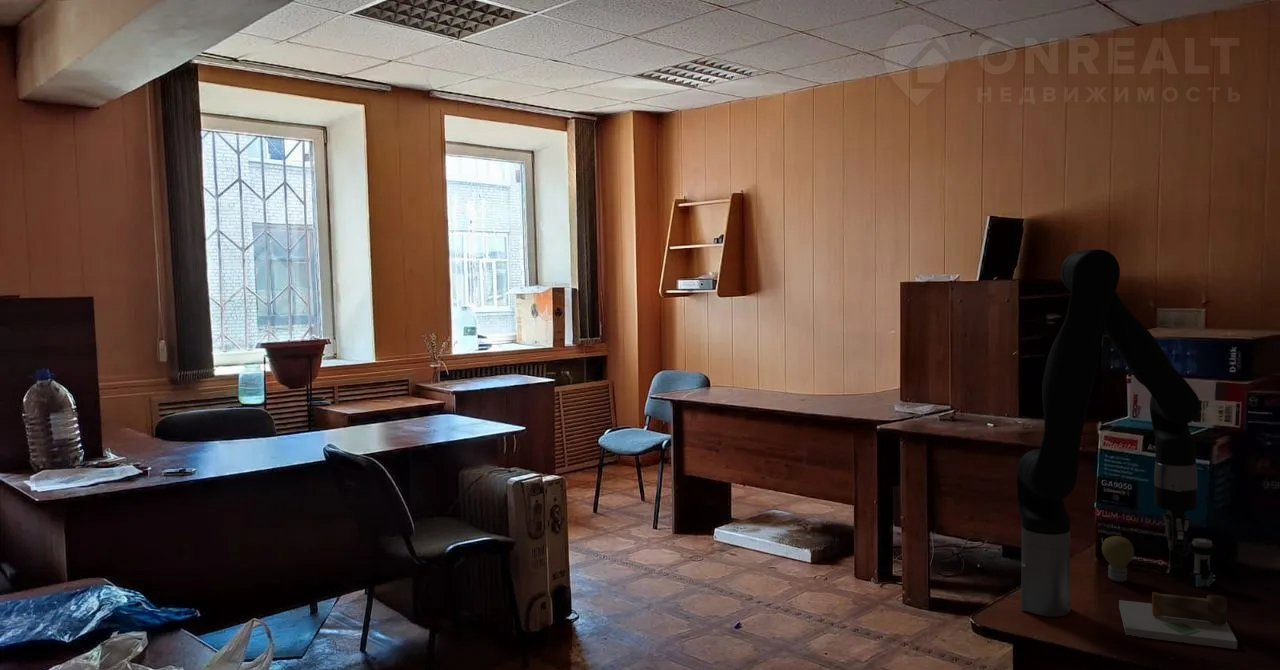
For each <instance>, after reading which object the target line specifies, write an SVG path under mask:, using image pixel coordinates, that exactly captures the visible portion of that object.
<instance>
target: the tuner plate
mask: <svg viewBox="0 0 1280 670" xmlns="http://www.w3.org/2000/svg"><path fill="white" fill-rule="evenodd" d="M1118 603H1119V604H1118V608H1119V612H1120V616H1121V620H1122V621H1121V622H1122V624H1123V628H1124V629H1125V630H1124V633H1126V634H1125V636H1126V635H1132V636H1131V637H1134V636H1137V638H1142V637H1144V638H1143V639H1150V638H1151V639H1152V640H1159V641H1166V640H1167V642H1168V641H1169V642H1174V641H1175V643H1182V642H1184V644H1191V645H1198V646H1208V647H1214V646H1215V648H1224V649H1230V650H1231V649H1232V650H1237V649H1238V640H1237V638H1236V636H1235V634H1234V633H1233V630H1232V629H1231V627H1230V624H1229V623H1228V621H1227V620H1226V623H1225V624H1215V623H1211V622H1209V621H1202V620H1193V619H1184V618H1176V617H1167V616H1153V614H1152V602H1151V603H1149V602H1142V601H1131V600H1123V599H1119V600H1118Z"/></svg>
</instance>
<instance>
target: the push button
mask: <svg viewBox="0 0 1280 670" xmlns="http://www.w3.org/2000/svg"><path fill="white" fill-rule="evenodd" d="M1187 546H1188V550H1189V552H1191V553H1192V554H1194V555H1193V556H1194V560H1193V561H1194V567H1193V571H1192V572H1189V573H1188V584H1189V585H1191V586H1192V585H1193V587H1195V586H1196V588H1198V586H1199V587H1200V588H1202V587H1201V586H1204V587H1207V586H1208V587H1211V585H1210V584H1212V583H1213V584H1214V582H1215V581H1216V579H1214V578H1215V577H1216V575H1215V574H1214V573H1213V572H1211V569H1210V566H1211V565H1210V564H1211V563H1210V562H1211V560H1210V559H1211V556H1213V555H1215V554H1216V551H1217V548H1218V546H1217V545H1215V544H1214V543H1213V541H1212V540H1210V539H1207V538H1201V537H1197V538H1192V541H1189V542H1187ZM1213 584H1212V585H1213ZM1205 585H1206V586H1205Z"/></svg>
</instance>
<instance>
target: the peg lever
mask: <svg viewBox="0 0 1280 670" xmlns="http://www.w3.org/2000/svg"><path fill="white" fill-rule="evenodd" d="M1227 601H1228V600H1227V598H1226V597H1225V596H1223V595H1219V594H1207V595H1206V598H1205V597H1195V596H1186V595H1177V594H1167V593H1160V592H1157V591H1152V593H1151V604H1152V614H1153V616H1167V617H1176V618H1184V619H1193V620H1202V621H1209V622H1211V623H1215V624H1225V623H1226V621H1227V609H1228V608H1227V607H1228V604H1227V603H1228V602H1227Z"/></svg>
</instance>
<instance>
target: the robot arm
mask: <svg viewBox="0 0 1280 670" xmlns="http://www.w3.org/2000/svg"><path fill="white" fill-rule="evenodd" d="M1120 275H1121V268H1120V264H1119V261H1118V260H1117V258H1116V257H1115V255H1113V254H1112V253H1111V252H1109V251H1107V250H1105V249H1100V248H1098V249H1096V248H1095V249H1093V248H1092V249H1084V250H1078V251H1076V252H1073V253H1070V254H1069V255H1068V256H1066V258H1065V259H1064V260H1063V262H1062V264H1061V266H1060V279H1061V281H1062V283H1063V285H1064V286H1065V287H1066V288H1067V289H1068V291H1070V294H1069V300H1068V301H1069V302H1068V308H1067V311H1066V316H1065V319H1064V321H1063V324H1062V326H1061V328H1060V330H1059V332H1058V334H1057V335H1056V337H1055V339H1054V341H1053V343H1052V346H1051V348H1050V351H1049V353H1048V356H1047V359H1046V363H1045V368H1044V374H1043V377H1042V382H1041V383H1042V384H1041V399H1042V409H1043V418H1044V421H1043V422H1044V428H1043V436H1042V440H1041V444H1040V448H1035V449H1031V450H1029V451H1028V452H1026V453H1025V454H1024V455H1023V456H1022V457H1021V458H1020V460H1019V462H1018V465H1017V470H1016V491H1017V508H1018V512H1019V515H1020V519H1021V520H1020V521H1021V523H1020V525H1021V560H1020V561H1021V563H1020V564H1021V565H1020V574H1021V575H1020V580H1021V581H1020V582H1021V583H1020V586H1021V587H1020V589H1021V591H1020V594H1021V596H1020V599H1021V600H1020V607H1021V608H1020V610H1021V611H1023V612H1028V613H1030V614H1033V615H1037V616H1041V617H1052V618H1053V617H1054V618H1057V617H1064V616H1067V615H1068V614H1070V612H1071V518H1070V515H1069V513H1068V511H1067V510H1066V509H1067V508H1066V507H1065V503H1064V499H1066V498H1067V497H1069V495H1070V494H1072V492H1073V491H1074V488H1075V486H1076V484H1077V481H1078V480H1077V479H1078V473H1079V461H1080V454H1081V453H1080V451H1081V445H1082V444H1081V443H1082V436H1083V431H1084V426H1085V423H1086V422H1085V421H1086V419H1087V413H1088V410H1089V409H1088V408H1089V405H1090V404H1089V403H1090V399H1091V395H1092V393H1093V387H1094V383H1095V379H1096V374H1097V373H1096V372H1097V369H1098V361H1099V357H1100V352H1101V347H1102V342H1103V338H1104V337H1103V336H1104V332H1105V334H1106V336H1107V338H1109V341H1110V342H1111V344H1113V346H1114V347H1115V349H1116V352H1118V354H1119V355H1120V357H1121V359H1122V360H1123V362H1124V363H1125V365H1126V366H1127V368H1128V369H1129V371H1130V373H1131V374H1132V376H1133V377H1134V378H1135V380H1136V381H1137V382H1138V383H1139V384H1140V385H1142V386H1144V387H1145V389H1146V390H1147V391H1148V392H1149V394H1150V395H1151V397H1150V400H1149V413H1150V415H1149V416H1150V420H1151V424H1152V430H1153V434H1154V437H1155V445H1154V446H1155V447H1154V449H1155V450H1154V451H1155V452H1154V454H1155V462H1154V463H1155V464H1154V469H1153V470H1154V471H1153V483H1154V484H1153V487H1154V489H1153V490H1154V491H1153V493H1154V494H1153V495H1154V496H1153V497H1154V498H1153V499H1154V502H1153V503H1154V505H1155V507H1157V508H1159V509H1161V510H1165V511H1166V513H1163V521H1164V529H1165V531H1164V532H1165V535H1166V538H1165V539H1166V541H1167V546H1168V549H1169V557H1168V558H1169V566H1170V567H1171V569H1173V570H1174V569H1176V570H1181V569H1182V570H1183V568H1184V552H1186V550H1187V545H1188V537H1189V532H1188V528H1189V524H1190V523H1189V518H1187V515H1186V514H1185V513H1186V512H1193V511H1195V510H1196V509H1198V502H1199V501H1198V500H1199V499H1198V496H1199V495H1198V491H1199V490H1198V485H1199V484H1198V470H1197V469H1198V468H1197V459H1196V458H1197V453H1196V451H1197V447H1196V446H1197V445H1196V440H1195V438H1194V436H1193V434H1192V433H1191V432H1190V430H1189V429H1190V428H1189V424H1190V423H1192V422H1194V421H1195V420H1196V419H1197V418H1198V417H1199V415H1200V414H1201V409H1202V408H1201V407H1202V406H1201V405H1202V404H1201V401H1200V399H1199V397H1198V395H1197V392H1195V390H1194V389H1193V388H1192V386H1191V385H1190V384H1189V382H1187V380H1186V379H1185V378H1184V377H1183V376H1182V375H1181V374H1180V372H1179V371H1177V370H1176V368H1175V367H1174V366H1173V364H1172V363H1171V361H1170V360H1169V358H1168V356H1167V354H1166V353H1165V351H1164V349H1163V348H1162V347H1161V346H1160V344H1159V342H1158V341H1157V339H1156V338H1155V337H1154V335H1153V334H1152V333H1151V332H1150V330H1148V328H1147V327H1146V326H1145V325H1144V324H1143V323H1142V322H1141V321H1140V320H1139V319H1138V318H1137V317H1136V316H1135V315H1134V314H1133V313H1132V312H1131V310H1130V309H1128V307H1127V306H1126V305H1125V303H1124V302H1123V300H1122V299H1121V298H1120V296H1119V295H1118V293H1117V291H1116V290H1117V287H1118V284H1119V280H1120Z"/></svg>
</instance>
